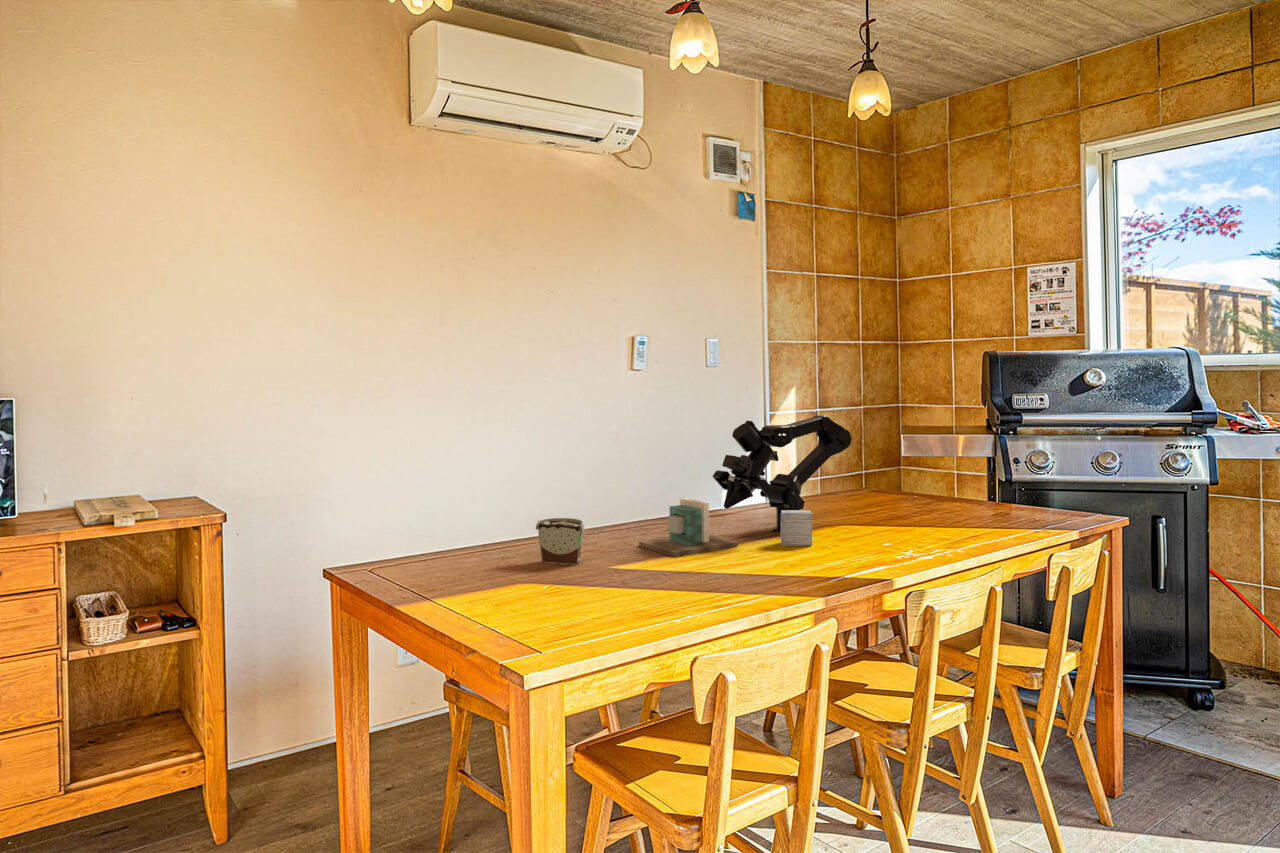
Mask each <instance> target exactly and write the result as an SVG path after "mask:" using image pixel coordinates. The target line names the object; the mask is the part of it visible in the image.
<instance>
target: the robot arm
mask: <svg viewBox="0 0 1280 853" xmlns="http://www.w3.org/2000/svg"><path fill="white" fill-rule="evenodd" d="M813 433H815V436H816V437H817V438H818V442H817V445H816V446H815V447H814V448H813V449H812V450H811V451H810V452H809V454H807V455H806V456H805V457H804V458H803V459H802V460H801V462H799V463H798V464H797V465H796V466H795V467H794V468H793V469H792V470H791V471H790V472H789V473H787V474H784V473H778V474H776V475H775V476H774V478H773V479H772V480H769V482H768V481H767V480H766V479H765V477H764V476H765V475H766V472H765V469H766V467H767V466H768V465H769V463H770V462H771V461H773V462H774V461H775V462H778V461H779V455H778V450H773V449H772V448H773V447H774V448H784V447H786V446H788V445H789V444H791V443H792V442H793V440H794V439H797V438H801V437H803V436H807V435H810V434H813ZM732 438H733V439H734V440H735V441H736V443H737V444H738V445H739V446H740V447H741V449H742V450H743V451H744V452H747V453H749V454H748V455H745V454H741V455H740V456H736V455H730V454H725V455H724V459H723V462H722V465H721V466H722V467H723V468H727V469H729V470H731V471H730V472H731V473H730V472H729V471H727V470H720V469H719V470H715V472H714V474H712V478H713V479H714V480H715V482H716V483H717V484H718V485H719V486H720V487H721V488H722V489H723V490H725V491H726V494H725V499H724V502H723V508H724V509H725V510H728V509H730V508H732V507H733V506H735V505H737V504H739V503H741V502H743V501H744V500H747V499H750V498H753V496H754V494H753V493H754V491H756V490H760V493H759V494H760V496H761V497H764V498H767V500H768V503H769V506H770V507H771V508H776V510H775V512H776V514H775V515H776V516H775V518H776V522H775V523H776V524H775V525H776V526H774V527H773V528H772V529H771V530H772V531H776V532H781V510H803V509H804V507H805V500H804V499H803V498H802V496H800V495H801V491H802V486H803V485H804V484H805V483H806V482H807V481H808V480H809V479H810V478H811V477H812V476H813V475H814V474H815V473H816V472H817V471H818V470H820V468H821V467H822V466H824V464H825V463H826V462H827V461H828V460H829V459H831V457H833V456H836V455H838V454H840V453H842V452H844V451H845V450H847V449H848V448H849V447H850V446H851V444H852V440H853V438H852V434H851V432H850V431H849V430H848V429H845V428H844V427H843V426H842V425H840V424H838V423H837V422H835V421H834V420H832V419H831V418H830V417H828V416H826V415H819V414H818V415H813V416H811V417H809V418H805V419H802V420H798V421H794V422H791V423H788V424H775V425H774V424H773V425H772V424H770V425H768V424H767V425H765V426H763V427H762V428H761V429H760V430H759V429H758V427H757V426H756V424H755V423H754V422H753V420H746V421H745V422H744V423H741V425H739V426H737V427H735V428H734V430H733V432H732ZM731 474H732V475H731Z"/></svg>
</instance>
